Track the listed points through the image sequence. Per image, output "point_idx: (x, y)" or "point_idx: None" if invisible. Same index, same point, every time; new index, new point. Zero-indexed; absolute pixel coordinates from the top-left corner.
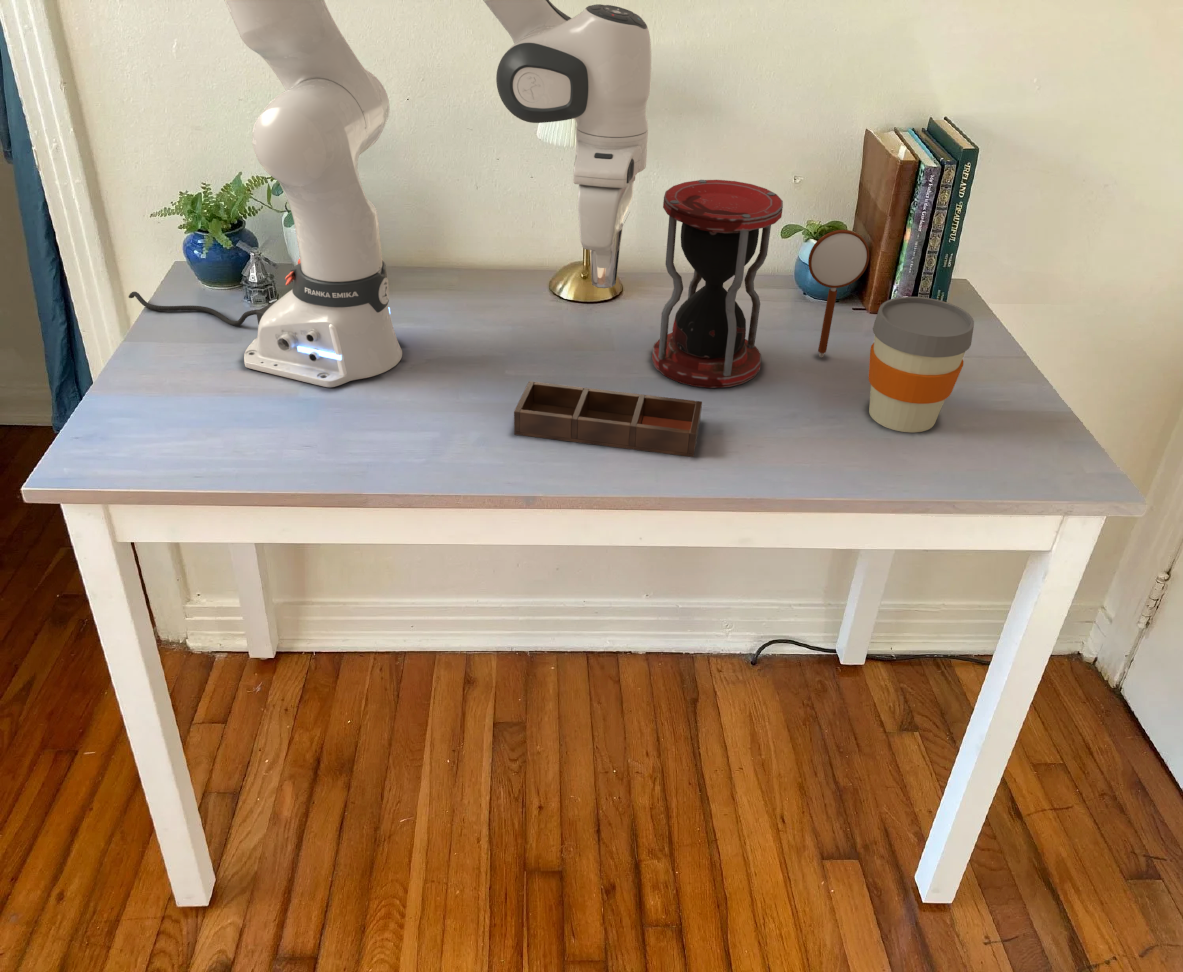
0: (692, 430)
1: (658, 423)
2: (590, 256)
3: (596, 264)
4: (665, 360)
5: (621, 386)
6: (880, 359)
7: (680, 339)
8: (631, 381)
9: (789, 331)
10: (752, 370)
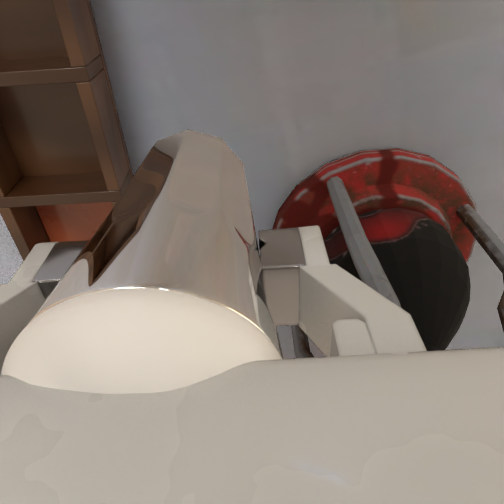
0: None
1: (106, 210)
2: (151, 184)
3: (33, 247)
4: (324, 191)
5: (234, 111)
6: None
7: (337, 240)
8: (262, 126)
9: (494, 330)
10: None
